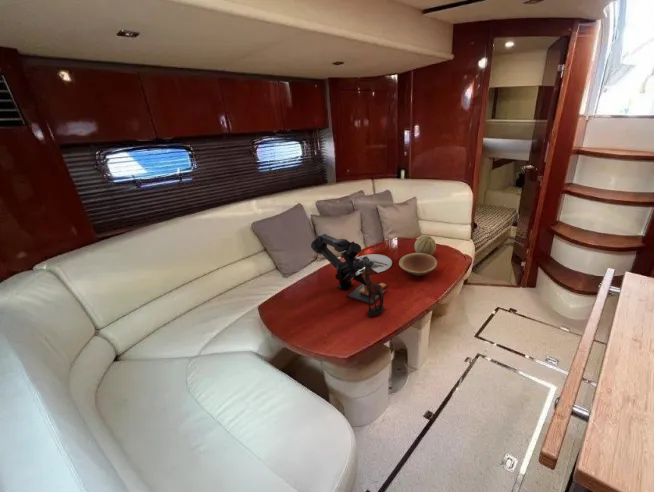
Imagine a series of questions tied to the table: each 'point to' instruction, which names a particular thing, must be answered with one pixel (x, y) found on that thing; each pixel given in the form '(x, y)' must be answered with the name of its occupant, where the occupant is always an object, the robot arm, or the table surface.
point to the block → (383, 285)
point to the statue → (373, 292)
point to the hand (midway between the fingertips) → (368, 284)
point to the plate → (378, 262)
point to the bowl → (418, 263)
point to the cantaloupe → (425, 245)
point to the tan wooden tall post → (364, 288)
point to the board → (358, 296)
